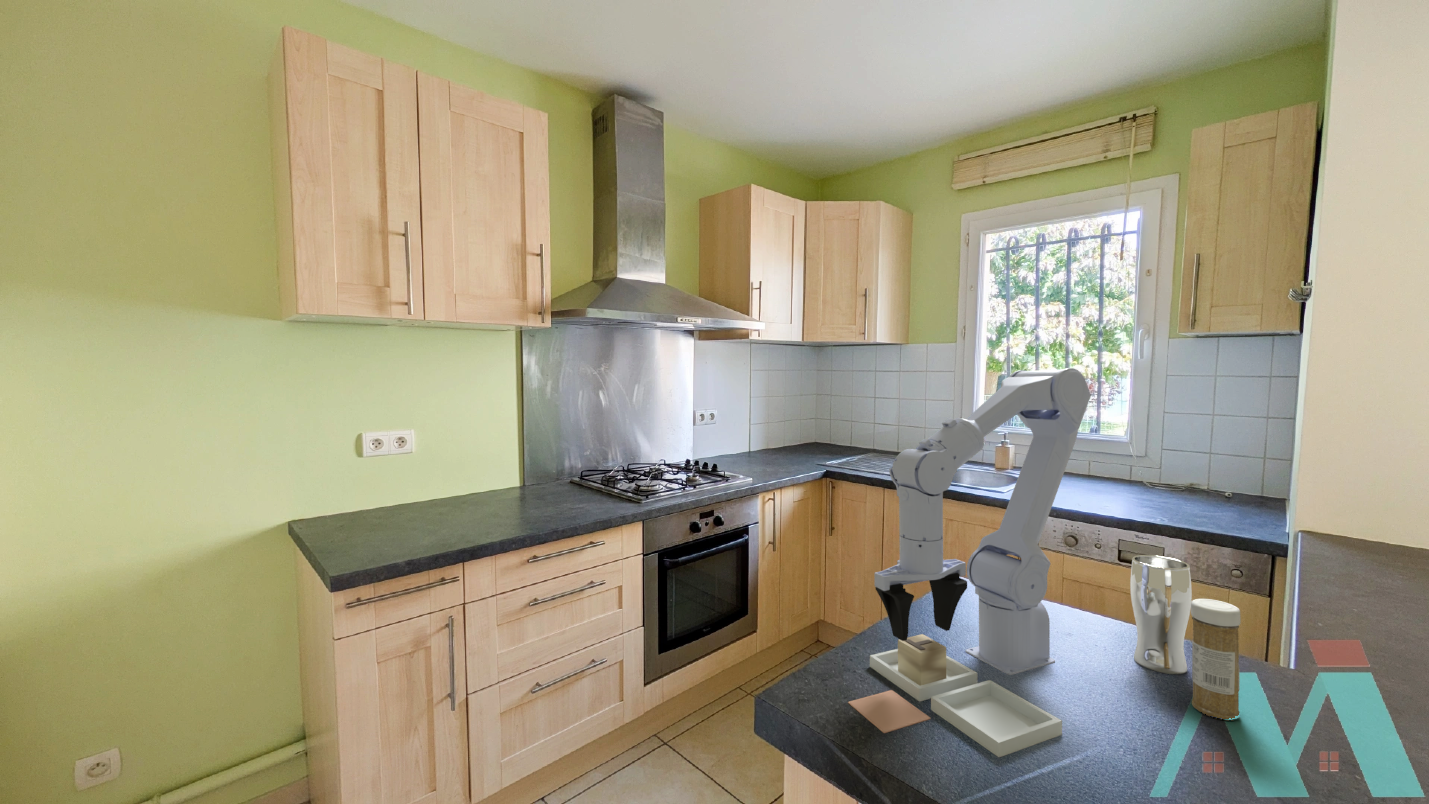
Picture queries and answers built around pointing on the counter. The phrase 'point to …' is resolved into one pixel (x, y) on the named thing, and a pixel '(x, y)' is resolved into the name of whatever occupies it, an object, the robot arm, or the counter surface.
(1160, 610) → the beer glass
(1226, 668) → the sprinkles bottle
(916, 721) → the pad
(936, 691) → the bin near arm
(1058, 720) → the bin near camera
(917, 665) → the letter cube
